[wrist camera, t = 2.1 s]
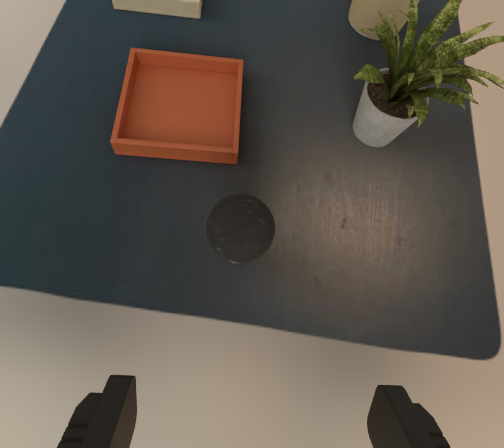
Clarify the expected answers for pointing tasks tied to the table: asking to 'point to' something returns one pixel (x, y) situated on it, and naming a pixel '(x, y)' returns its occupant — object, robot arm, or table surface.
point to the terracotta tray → (179, 107)
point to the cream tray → (162, 7)
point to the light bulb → (240, 228)
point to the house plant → (416, 75)
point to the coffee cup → (366, 14)
